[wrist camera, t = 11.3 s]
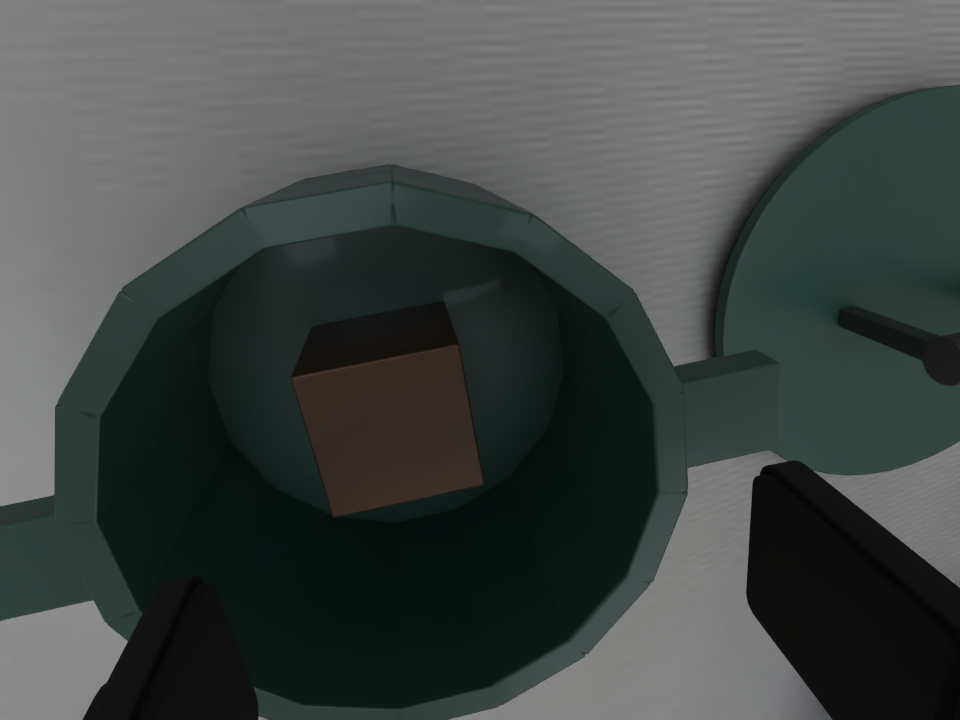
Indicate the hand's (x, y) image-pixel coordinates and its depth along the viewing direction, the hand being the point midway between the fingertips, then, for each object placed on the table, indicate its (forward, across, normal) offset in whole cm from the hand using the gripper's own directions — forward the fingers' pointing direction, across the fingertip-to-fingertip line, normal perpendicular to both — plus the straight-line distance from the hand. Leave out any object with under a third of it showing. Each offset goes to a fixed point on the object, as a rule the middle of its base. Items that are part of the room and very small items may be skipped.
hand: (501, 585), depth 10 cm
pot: (+12, +2, 0) cm, 12 cm away
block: (+11, +2, 0) cm, 11 cm away
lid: (+11, -17, +1) cm, 20 cm away
